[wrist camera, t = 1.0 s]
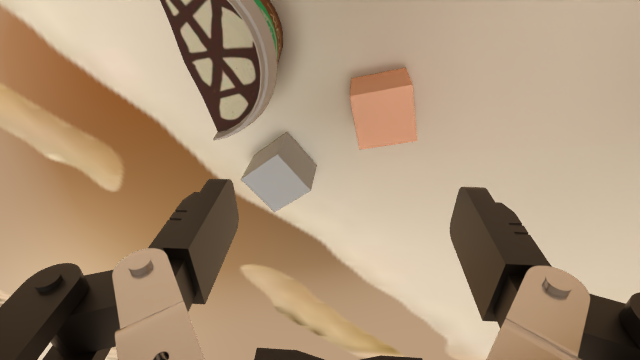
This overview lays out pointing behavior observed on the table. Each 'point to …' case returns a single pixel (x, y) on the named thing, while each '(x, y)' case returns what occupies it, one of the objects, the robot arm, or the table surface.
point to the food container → (229, 55)
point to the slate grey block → (280, 173)
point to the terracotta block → (383, 108)
